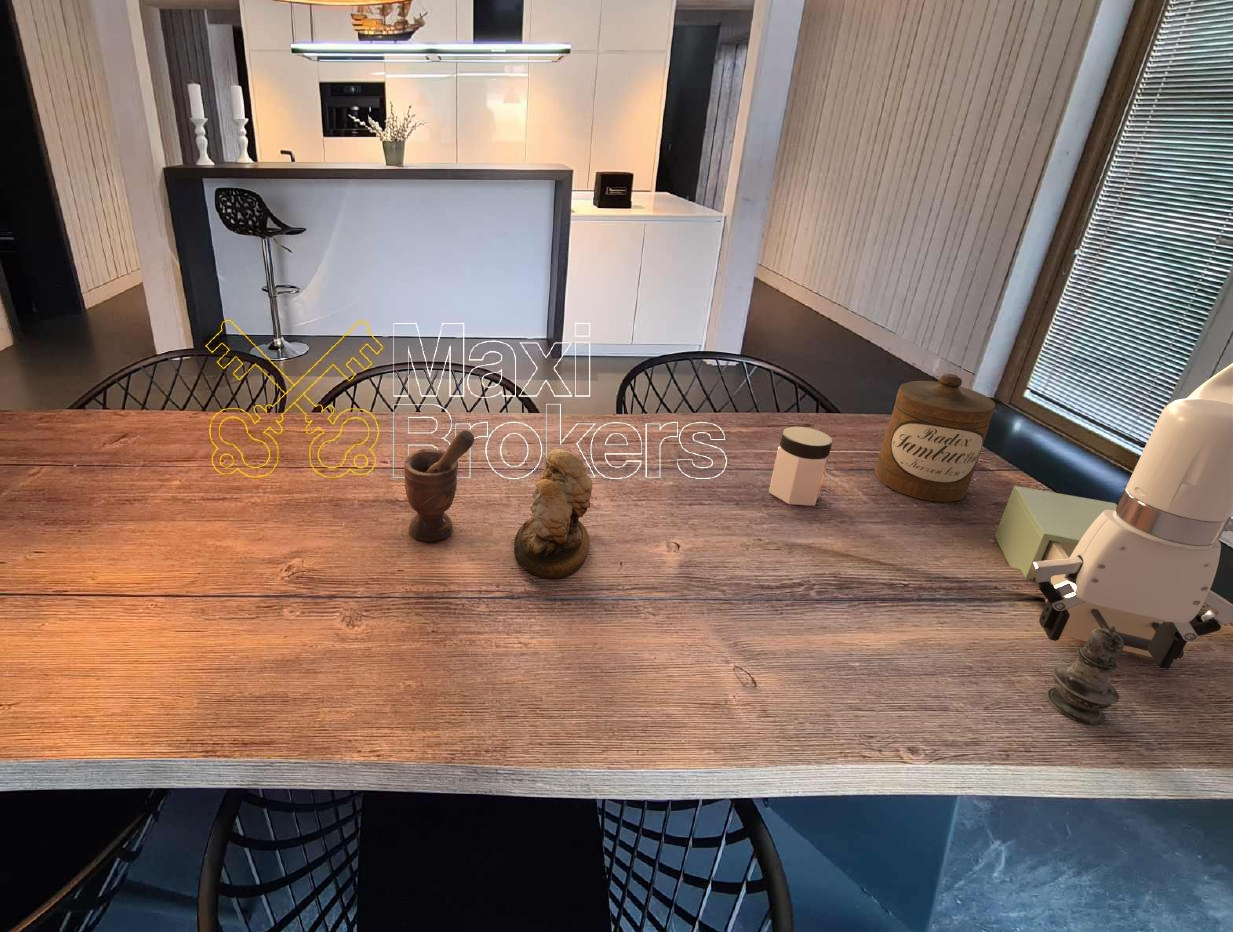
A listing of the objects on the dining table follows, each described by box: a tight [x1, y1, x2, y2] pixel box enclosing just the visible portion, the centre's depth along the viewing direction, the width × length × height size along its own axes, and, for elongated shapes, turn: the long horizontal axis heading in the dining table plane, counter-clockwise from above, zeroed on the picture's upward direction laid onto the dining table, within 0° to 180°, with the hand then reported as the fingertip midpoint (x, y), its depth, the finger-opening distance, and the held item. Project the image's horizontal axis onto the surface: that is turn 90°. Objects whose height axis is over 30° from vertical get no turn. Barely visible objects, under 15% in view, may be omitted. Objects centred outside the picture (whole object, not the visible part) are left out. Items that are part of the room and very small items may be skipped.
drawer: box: [1041, 540, 1185, 659], centre depth 88 cm, size 19×12×8 cm, turn 156°
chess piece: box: [1045, 626, 1124, 726], centre depth 76 cm, size 6×6×12 cm
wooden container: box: [874, 373, 996, 503], centre depth 123 cm, size 15×15×22 cm
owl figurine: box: [513, 448, 593, 580], centre depth 104 cm, size 18×12×17 cm, turn 167°
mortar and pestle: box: [403, 429, 475, 542], centre depth 107 cm, size 12×9×20 cm
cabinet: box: [994, 485, 1118, 581], centre depth 100 cm, size 15×13×10 cm
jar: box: [768, 426, 833, 507], centre depth 120 cm, size 9×8×12 cm
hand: (1101, 645), depth 75 cm, fingers open, 9 cm apart
